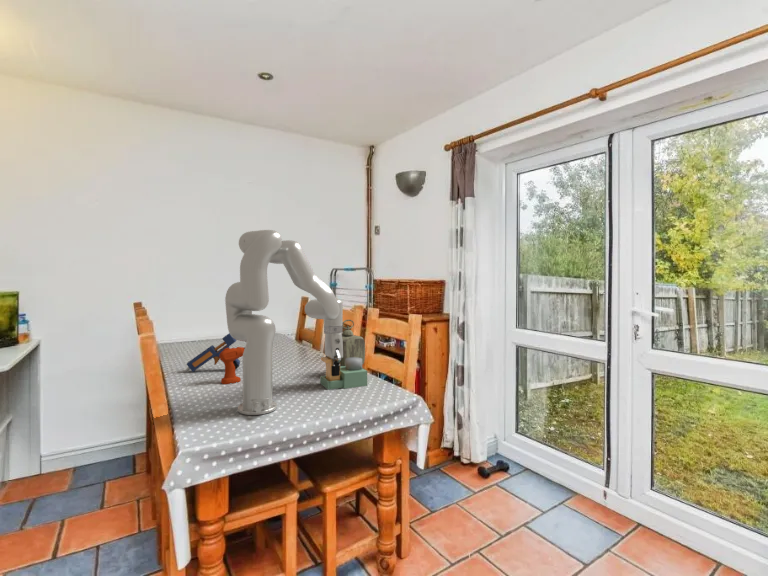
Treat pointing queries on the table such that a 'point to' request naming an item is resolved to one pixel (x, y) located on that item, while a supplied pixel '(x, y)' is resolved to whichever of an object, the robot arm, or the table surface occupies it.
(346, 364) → the green drawer box
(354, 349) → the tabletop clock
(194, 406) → the table surface
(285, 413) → the table surface
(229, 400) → the table surface
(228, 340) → the glue gun
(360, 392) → the table surface
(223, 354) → the toy drill
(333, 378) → the orange rectangular block
